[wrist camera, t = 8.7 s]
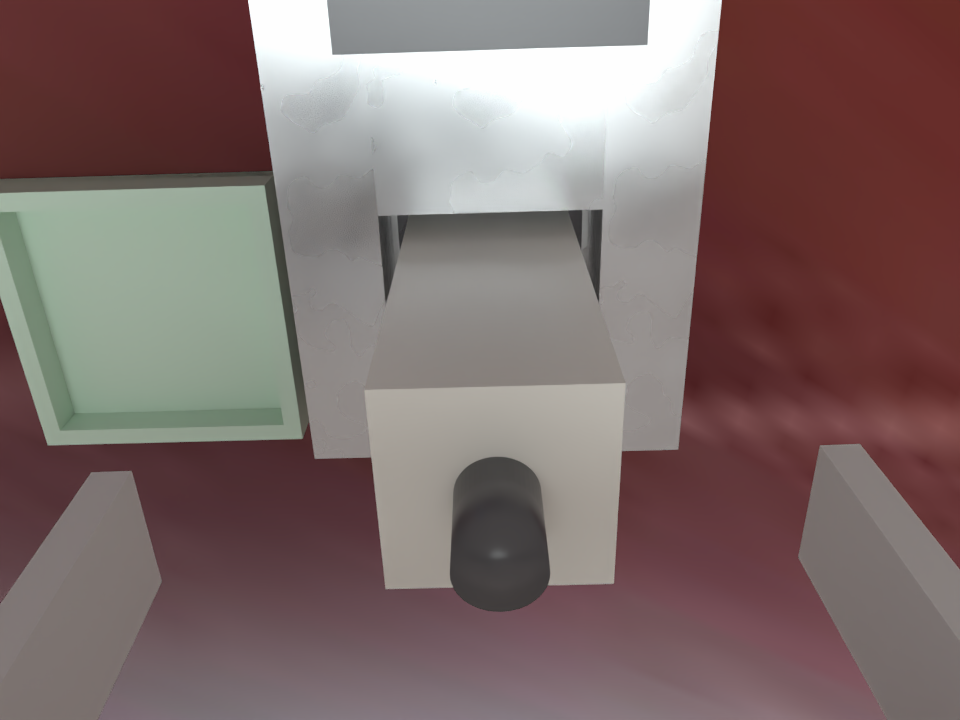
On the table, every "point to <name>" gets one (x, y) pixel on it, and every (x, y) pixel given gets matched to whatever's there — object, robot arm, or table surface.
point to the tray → (152, 307)
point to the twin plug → (483, 25)
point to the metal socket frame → (488, 186)
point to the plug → (495, 412)
